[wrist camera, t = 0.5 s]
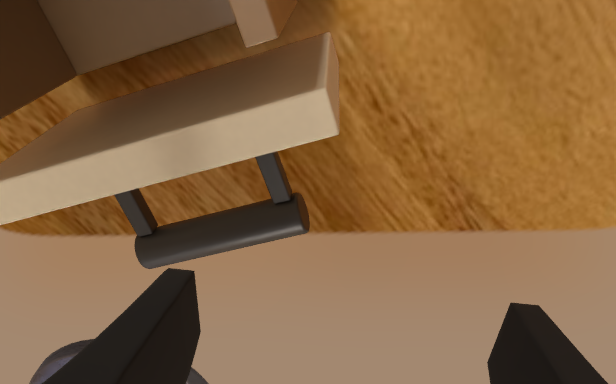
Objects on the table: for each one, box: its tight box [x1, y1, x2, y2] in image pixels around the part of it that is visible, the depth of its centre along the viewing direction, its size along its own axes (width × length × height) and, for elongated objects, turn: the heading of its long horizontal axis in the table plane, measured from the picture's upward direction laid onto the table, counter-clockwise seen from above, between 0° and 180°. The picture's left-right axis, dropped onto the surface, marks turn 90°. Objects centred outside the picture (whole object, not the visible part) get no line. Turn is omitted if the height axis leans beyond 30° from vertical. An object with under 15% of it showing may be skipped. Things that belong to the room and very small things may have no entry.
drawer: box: [0, 0, 339, 269], centre depth 13 cm, size 17×10×7 cm, turn 17°
